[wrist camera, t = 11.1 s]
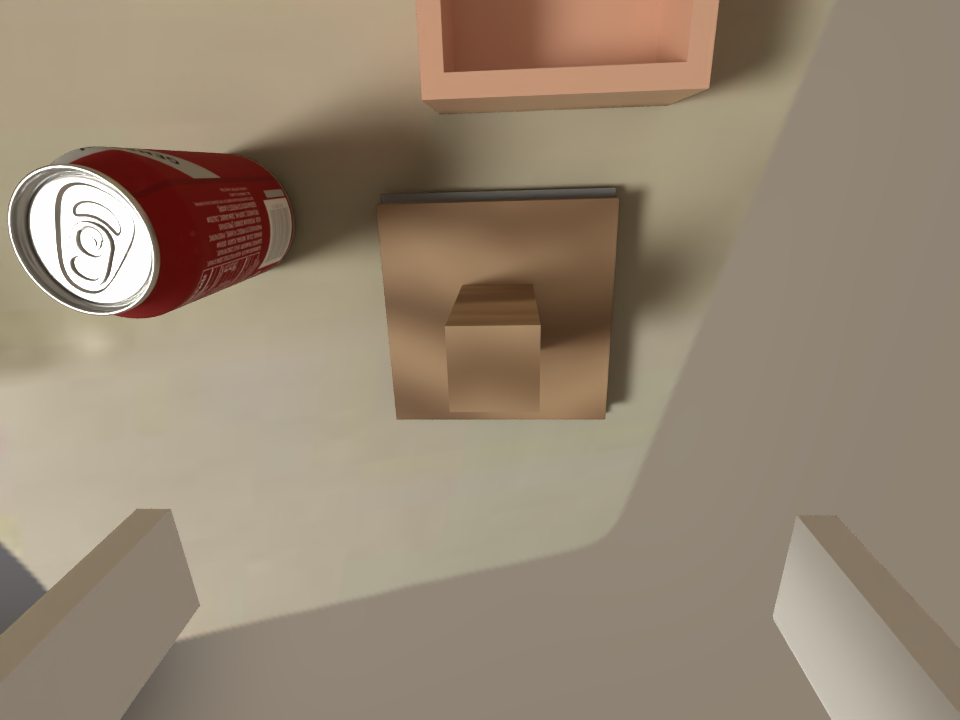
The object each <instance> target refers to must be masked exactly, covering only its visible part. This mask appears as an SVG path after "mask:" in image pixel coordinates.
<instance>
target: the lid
mask: <svg viewBox="0 0 960 720" xmlns="http://www.w3.org/2000/svg"><path fill="white" fill-rule="evenodd" d="M376 212H377V222H378V232H379V242H380V253H381V263H382V273H383V283H384V294H385V304H386V314H387V324H388V335H389V345H390V355H391V366H392V376H393V386H394V396H395V407H396V417H397V419H605V415H606V399H607V384H608V368H609V353H610V337H611V321H612V306H613V290H614V275H615V259H616V243H617V228H618V212H619V198H617V197H597V198H561V199H525V200H489V201H453V202H417V203H381V204H377V205H376Z"/></svg>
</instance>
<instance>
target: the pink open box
mask: <svg viewBox="0 0 960 720" xmlns="http://www.w3.org/2000/svg"><path fill="white" fill-rule="evenodd" d="M718 7H719V0H416V15H417V31H418V47H419V63H420V79H421V95H422V101H424V102H425V103H426V104H428V105H429V106H430V107H431V108H433V109H434V110H435V111H436V112H438V113H439V114H462V113H488V112H514V111H539V110H565V109H591V108H617V107H643V106H667V105H670V104H672V103H675V102H677V101H680V100H682V99H684V98H687V97H689V96H692V95H694V94H697V93H699V92H702V91H704V90H706V89H709V85H710V76H711V68H712V59H713V50H714V42H715V33H716V24H717V16H718Z"/></svg>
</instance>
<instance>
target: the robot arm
mask: <svg viewBox="0 0 960 720" xmlns="http://www.w3.org/2000/svg"><path fill="white" fill-rule="evenodd" d="M199 606H200V604H199V601H198V597H197V594H196V591H195V588H194V584H193V581H192V578H191V574H190V571H189V568H188V564H187V561H186V558H185V554H184V551H183V548H182V545H181V541H180V538H179V535H178V531H177V528H176V525H175V521H174V518H173V515H172V511H171V509H136V510H135V511H134V512H133V513H132V514H131V515H130V516H129V517H128V518H127V519H126V520H124V521H123V522H122V523H121V524H120V525H119V526H118V527H117V528H116V529H115V530H114V531H113V532H112V533H110V534H109V535H108V536H107V537H106V538H105V539H104V540H103V541H102V542H101V543H100V544H99V545H97V546H96V547H95V548H94V549H93V550H92V551H91V552H90V553H89V554H88V555H87V556H86V557H85V558H83V559H82V560H81V561H80V562H79V563H78V564H77V565H76V566H75V567H74V568H73V569H72V570H71V571H69V572H68V573H67V574H66V575H65V576H64V577H63V578H62V579H61V580H60V581H59V582H58V583H56V584H55V585H54V586H53V587H52V588H51V589H50V590H49V591H48V592H47V593H46V594H45V595H44V596H43V597H42V598H40V599H39V600H38V601H37V602H36V603H35V604H34V605H33V606H32V607H31V608H30V609H28V610H27V611H26V612H25V613H24V614H23V615H22V616H21V617H20V618H19V619H18V620H17V621H15V622H14V623H13V624H12V625H11V626H10V627H9V628H8V629H7V630H6V631H5V632H4V633H3V634H1V635H0V720H120V718H121V717H122V716H123V714H124V713H125V712H126V710H127V709H128V707H129V706H130V704H131V703H132V702H133V700H134V699H135V697H136V696H137V694H138V693H139V692H140V690H141V689H142V687H143V686H144V684H145V683H146V682H147V680H148V679H149V677H150V676H151V674H152V673H153V672H154V670H155V669H156V667H157V666H158V664H159V663H160V661H161V660H162V658H163V657H164V656H165V654H166V653H167V652H168V650H169V649H170V647H171V646H172V644H173V643H174V642H175V640H176V639H177V637H178V636H179V634H180V633H181V632H182V630H183V629H184V627H185V626H186V624H187V623H188V622H189V620H190V619H191V617H192V616H193V614H194V613H195V612H196V610H197V609H198V607H199ZM773 619H774V621H775V623H776V624H777V626H778V628H779V629H780V632H781V633H782V635H783V636H784V638H785V640H786V642H787V644H788V645H789V647H790V649H791V650H792V652H793V654H794V656H795V657H796V659H797V661H798V662H799V664H800V666H801V668H802V669H803V671H804V673H805V675H806V676H807V678H808V680H809V681H810V683H811V685H812V687H813V688H814V690H815V692H816V694H817V695H818V697H819V699H820V700H821V702H822V704H823V706H824V707H825V709H826V711H827V712H828V714H829V716H830V718H831V719H832V720H960V648H959V647H958V646H957V645H956V643H955V642H954V641H953V640H952V639H951V638H950V637H949V636H948V635H947V634H946V633H945V632H944V631H943V629H942V628H941V627H940V626H939V625H938V624H937V623H936V622H935V621H934V620H933V619H932V618H931V617H930V616H929V614H927V612H926V611H925V610H924V609H923V608H922V607H921V606H920V605H919V604H918V603H917V602H916V601H915V600H914V598H913V597H912V596H911V595H910V594H909V593H908V592H907V591H906V590H905V589H904V588H903V587H902V585H901V584H900V583H899V582H898V581H897V580H896V579H895V578H894V577H893V576H892V575H891V574H890V573H889V571H888V570H887V569H886V568H885V567H884V566H883V565H882V564H881V563H880V562H879V561H878V560H877V559H876V558H875V557H874V555H873V554H872V553H871V552H870V551H869V550H868V549H867V548H866V547H865V546H864V545H863V544H862V543H861V542H860V540H859V539H858V538H857V537H856V536H855V535H854V534H853V533H852V532H851V531H850V530H849V529H848V527H846V526H845V524H844V523H843V522H842V521H841V520H840V519H839V518H838V517H837V516H823V515H822V516H821V515H820V516H819V515H814V516H813V515H797V517H796V521H795V525H794V530H793V534H792V538H791V543H790V546H789V551H788V555H787V559H786V563H785V568H784V572H783V576H782V580H781V584H780V589H779V593H778V597H777V601H776V605H775V610H774V614H773Z"/></svg>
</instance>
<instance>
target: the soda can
mask: <svg viewBox="0 0 960 720" xmlns="http://www.w3.org/2000/svg"><path fill="white" fill-rule="evenodd" d="M8 229H9V234H10V239H11V242H12V245H13V248H14V250H15V253H16V255H17V257H18V259H19V261H20V263H21V264H22V266H23V268H24V269H25V270H26V272H27V273H28V275H29V276H30V277H31V278H32V280H33V281H34V282H35V283H36V284H37V285H38V286H39V287H40V288H41V289H42V290H43V291H44V292H46V293H47V294H48V295H49V296H51V297H52V298H53V299H55V300H56V301H58V302H60V303H61V304H63V305H65V306H67V307H69V308H71V309H74V310H76V311H79V312H82V313H86V314H91V315H103V316H104V315H116V316H120V317H126V318H150V317H156V316H159V315H162V314H165V313H167V312H170V311H172V310H175V309H177V308H179V307H182V306H184V305H187V304H189V303H192V302H194V301H196V300H199V299H201V298H204V297H206V296H208V295H211V294H213V293H216V292H218V291H220V290H223V289H225V288H228V287H230V286H232V285H235V284H237V283H240V282H242V281H244V280H247V279H249V278H252V277H254V276H256V275H259V274H261V273H264V272H266V271H268V270H270V269H272V268H273V267H275V266H276V265H277V264H278V263H280V262H281V260H282V259H283V258H284V257H285V255H286V254H287V252H288V250H289V248H290V246H291V244H292V240H293V236H294V214H293V209H292V206H291V203H290V200H289V198H288V196H287V194H286V192H285V190H284V188H283V187H282V185H281V184H280V182H279V181H278V180H277V179H276V178H275V176H274V175H273V174H272V173H271V172H269V171H268V170H267V169H266V168H265V167H263V166H262V165H260V164H259V163H257V162H255V161H253V160H251V159H249V158H246V157H243V156H240V155H234V154H223V153H205V152H187V151H170V150H152V149H134V148H117V147H85V148H80V149H76V150H73V151H70V152H68V153H66V154H64V155H62V156H60V157H59V158H57V159H56V160H55V161H53V162H52V163H51V164H50V165H47V166H44V167H41V168H38V169H36V170H34V171H32V172H31V173H29V174H28V175H26V176H25V177H24V178H23V179H22V180H21V181H20V182H19V184H18V185H17V187H16V188H15V190H14V192H13V194H12V196H11V200H10V203H9V208H8Z"/></svg>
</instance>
